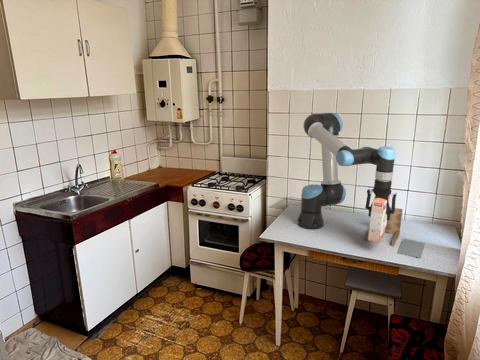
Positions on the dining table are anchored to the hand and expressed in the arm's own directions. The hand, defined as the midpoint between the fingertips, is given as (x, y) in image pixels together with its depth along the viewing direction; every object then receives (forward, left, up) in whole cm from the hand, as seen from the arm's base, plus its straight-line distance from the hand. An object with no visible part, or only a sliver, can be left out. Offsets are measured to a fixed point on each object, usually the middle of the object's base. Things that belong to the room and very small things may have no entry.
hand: (378, 224), depth 171 cm
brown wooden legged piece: (0, +15, -13) cm, 20 cm away
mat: (+15, +9, -13) cm, 22 cm away
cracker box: (0, 0, -7) cm, 7 cm away
